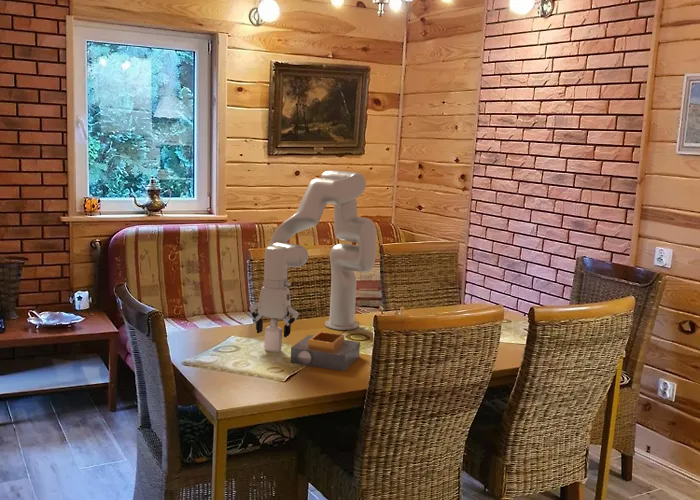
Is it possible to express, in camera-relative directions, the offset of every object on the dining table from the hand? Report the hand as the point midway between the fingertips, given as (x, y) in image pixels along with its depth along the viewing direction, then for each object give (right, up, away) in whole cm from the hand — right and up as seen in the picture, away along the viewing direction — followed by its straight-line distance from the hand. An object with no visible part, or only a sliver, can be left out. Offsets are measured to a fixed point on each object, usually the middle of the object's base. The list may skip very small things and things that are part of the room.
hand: (272, 334), depth 239 cm
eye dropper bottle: (0, -6, +1) cm, 6 cm away
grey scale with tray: (+18, -8, -5) cm, 20 cm away
